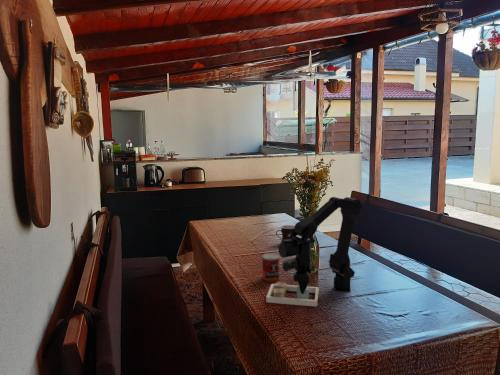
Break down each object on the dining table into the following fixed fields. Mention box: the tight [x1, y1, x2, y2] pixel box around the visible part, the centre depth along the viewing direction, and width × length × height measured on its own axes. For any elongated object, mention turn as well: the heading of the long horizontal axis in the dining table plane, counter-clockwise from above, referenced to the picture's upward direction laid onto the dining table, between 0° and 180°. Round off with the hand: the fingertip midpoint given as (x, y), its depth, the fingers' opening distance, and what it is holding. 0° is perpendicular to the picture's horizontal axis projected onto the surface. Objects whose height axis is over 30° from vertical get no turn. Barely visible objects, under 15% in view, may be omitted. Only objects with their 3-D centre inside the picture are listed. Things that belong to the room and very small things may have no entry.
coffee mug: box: [275, 224, 295, 240], centre depth 245 cm, size 12×9×10 cm
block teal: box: [296, 284, 310, 299], centre depth 168 cm, size 4×4×4 cm
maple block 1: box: [275, 281, 288, 296], centre depth 173 cm, size 4×4×4 cm
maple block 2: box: [273, 289, 285, 298], centre depth 167 cm, size 4×4×4 cm
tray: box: [265, 283, 319, 307], centre depth 169 cm, size 20×14×2 cm
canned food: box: [261, 253, 280, 283], centre depth 188 cm, size 8×8×11 cm
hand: (303, 290), depth 168 cm, fingers open, 6 cm apart
